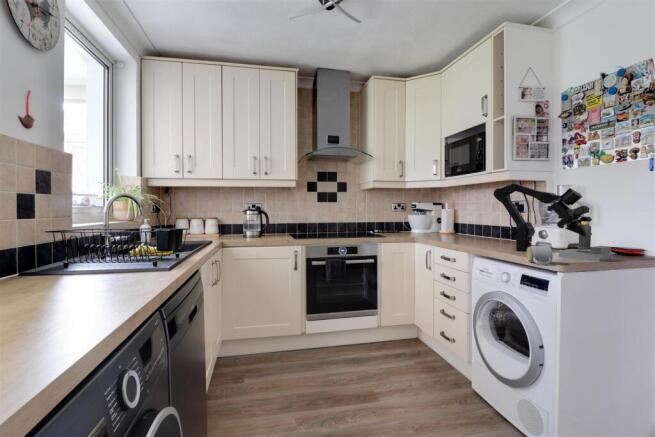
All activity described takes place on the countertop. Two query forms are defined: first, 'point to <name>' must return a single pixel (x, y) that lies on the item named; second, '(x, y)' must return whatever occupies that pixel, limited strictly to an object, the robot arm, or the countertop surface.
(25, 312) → the countertop surface
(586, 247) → the plug
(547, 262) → the ceramic mug
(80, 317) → the countertop surface
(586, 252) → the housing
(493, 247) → the countertop surface
